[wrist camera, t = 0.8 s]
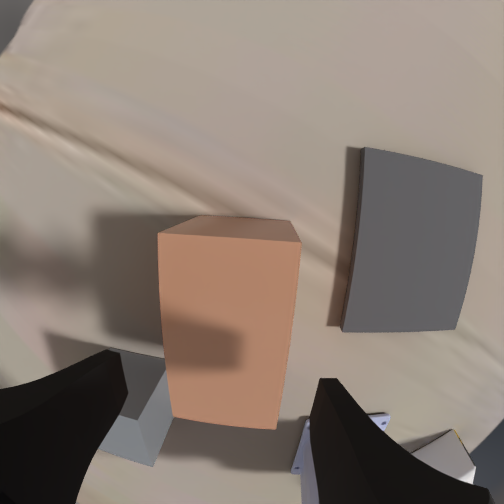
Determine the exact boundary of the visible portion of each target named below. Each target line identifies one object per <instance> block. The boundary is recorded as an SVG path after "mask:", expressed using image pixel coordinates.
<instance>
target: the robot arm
mask: <svg viewBox="0 0 504 504" xmlns="http://www.w3.org/2000/svg"><path fill="white" fill-rule="evenodd" d="M127 396H128V389H127V384H126V380H125V375H124V371H123V366H122V361H121V356H120V353H118V352H114V351H111V350H104V351H102V352H99V353H97V354H95V355H93V356H90V357H88V358H86V359H84V360H82V361H80V362H78V363H76V364H74V365H71V366H69V367H67V368H65V369H63V370H61V371H58V372H56V373H53V374H51V375H48V376H46V377H43V378H41V379H38V380H35V381H32V382H29V383H26V384H22V385H18V386H14V387H9V388H4V389H0V504H75V503H76V499H77V496H78V493H79V490H80V487H81V484H82V482H83V479H84V476H85V474H86V472H87V469H88V467H89V465H90V462H91V460H92V458H93V456H94V455H95V453H96V451H97V449H98V448H99V446H100V445H101V443H102V441H103V440H104V438H105V437H106V435H107V433H108V432H109V430H110V429H111V427H112V426H113V424H114V422H115V421H116V419H117V417H118V416H119V414H120V412H121V410H122V408H123V405H124V403H125V401H126V398H127ZM390 418H391V417H390V415H389V414H378V415H367V414H366V413H365V412H364V411H363V409H362V408H361V407H360V406H359V405H358V404H357V402H356V401H355V400H354V399H353V398H352V396H351V395H350V394H349V393H348V391H347V390H346V389H345V388H344V386H343V385H342V384H341V383H340V381H339V380H338V379H337V378H320V379H319V384H318V388H317V391H316V395H315V399H314V403H313V407H312V410H311V414H310V417H309V419H307V420H306V422H305V425H304V429H303V432H302V436H301V439H300V443H299V446H298V449H297V453H296V456H295V459H294V462H293V465H292V468H291V473H292V474H300V476H301V497H302V504H495V502H494V500H493V498H492V496H491V494H490V492H489V490H488V489H487V488H483V487H480V486H476V485H473V484H470V483H467V482H464V481H461V480H458V479H456V478H453V477H451V476H449V475H447V474H444V473H442V472H440V471H438V470H436V469H434V468H433V467H431V466H429V465H428V464H426V463H424V462H423V461H421V460H419V459H418V458H416V457H415V456H413V455H412V454H410V453H409V452H408V451H406V450H405V449H404V448H402V447H401V446H400V445H399V444H397V443H396V442H395V441H394V440H392V439H391V438H390V437H389V436H388V435H387V434H386V433H385V432H384V430H385V428H386V426H387V424H388V422H389V420H390ZM309 426H310V427H309Z"/></svg>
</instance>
